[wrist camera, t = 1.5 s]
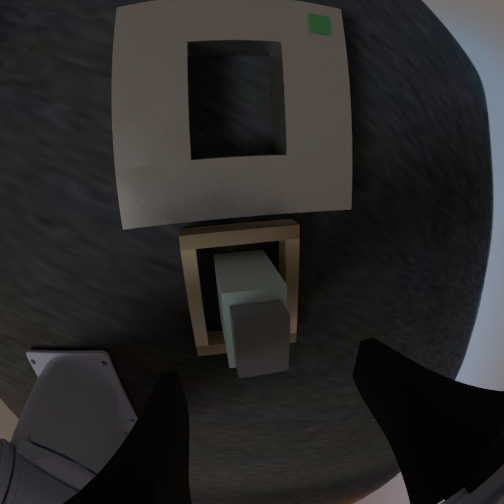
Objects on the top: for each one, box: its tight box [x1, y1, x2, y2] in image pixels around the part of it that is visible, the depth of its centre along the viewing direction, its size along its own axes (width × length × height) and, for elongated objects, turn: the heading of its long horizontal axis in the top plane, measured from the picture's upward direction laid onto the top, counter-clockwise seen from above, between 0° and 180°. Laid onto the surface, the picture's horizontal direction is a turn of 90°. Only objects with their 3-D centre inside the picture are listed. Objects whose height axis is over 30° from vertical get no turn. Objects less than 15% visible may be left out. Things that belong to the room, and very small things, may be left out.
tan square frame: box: [179, 219, 300, 356], centre depth 17 cm, size 8×7×2 cm
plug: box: [214, 250, 291, 378], centre depth 15 cm, size 4×3×6 cm, turn 2°
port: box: [112, 0, 352, 230], centre depth 13 cm, size 12×12×3 cm
